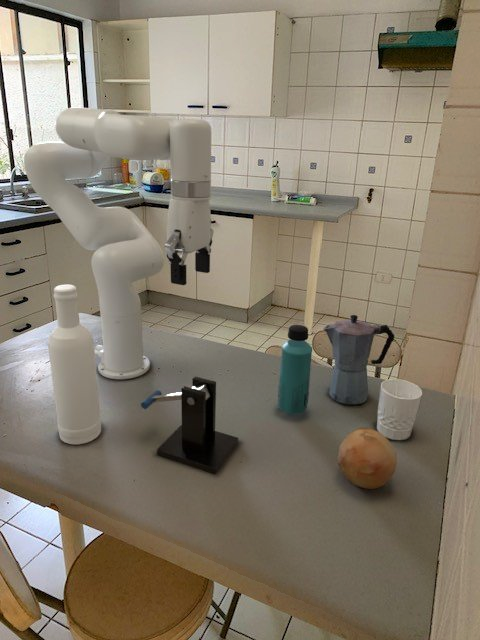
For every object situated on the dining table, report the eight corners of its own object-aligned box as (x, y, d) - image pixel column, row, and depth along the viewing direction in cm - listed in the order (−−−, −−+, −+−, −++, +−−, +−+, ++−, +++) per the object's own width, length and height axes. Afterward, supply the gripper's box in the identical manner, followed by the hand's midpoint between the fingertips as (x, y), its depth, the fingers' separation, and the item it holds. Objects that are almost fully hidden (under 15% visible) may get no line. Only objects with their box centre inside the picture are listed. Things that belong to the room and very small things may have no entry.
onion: (404, 495, 78) (414, 446, 74) (351, 506, 75) (360, 455, 72) (373, 458, 87) (381, 413, 83) (325, 467, 84) (331, 420, 80)
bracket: (157, 454, 86) (154, 389, 80) (184, 426, 94) (183, 366, 89) (215, 474, 81) (216, 407, 76) (238, 442, 90) (240, 380, 85)
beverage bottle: (305, 422, 97) (314, 335, 89) (274, 418, 98) (280, 331, 91) (307, 406, 103) (316, 323, 95) (278, 402, 104) (284, 319, 96)
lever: (143, 411, 87) (138, 400, 86) (158, 399, 91) (153, 388, 91) (200, 405, 81) (196, 393, 80) (213, 392, 85) (209, 380, 84)
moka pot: (314, 383, 112) (322, 306, 105) (377, 386, 112) (390, 309, 105) (319, 404, 104) (328, 322, 96) (388, 408, 103) (403, 325, 96)
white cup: (385, 415, 101) (392, 374, 97) (420, 431, 95) (429, 389, 92) (366, 429, 95) (373, 387, 92) (401, 447, 90) (410, 403, 86)
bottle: (50, 438, 89) (29, 290, 78) (77, 417, 96) (62, 278, 84) (84, 449, 86) (67, 297, 75) (110, 427, 93) (98, 284, 82)
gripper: (195, 185, 96) (195, 265, 102) (147, 193, 81) (151, 286, 88) (228, 188, 93) (226, 270, 100) (185, 196, 78) (185, 292, 85)
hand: (191, 277), depth 94 cm, fingers open, 9 cm apart
